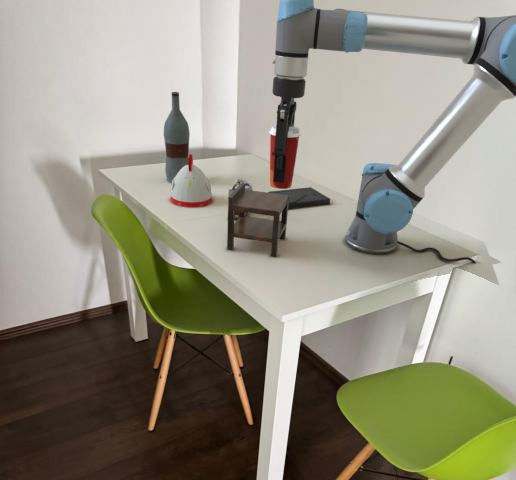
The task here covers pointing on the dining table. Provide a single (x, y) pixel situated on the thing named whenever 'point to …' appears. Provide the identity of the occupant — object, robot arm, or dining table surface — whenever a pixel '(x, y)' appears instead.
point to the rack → (252, 225)
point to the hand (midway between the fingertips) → (281, 177)
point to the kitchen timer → (191, 187)
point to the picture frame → (303, 197)
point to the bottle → (176, 140)
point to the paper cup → (290, 158)
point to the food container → (239, 181)
